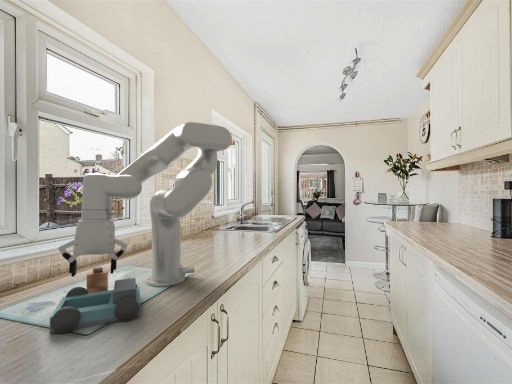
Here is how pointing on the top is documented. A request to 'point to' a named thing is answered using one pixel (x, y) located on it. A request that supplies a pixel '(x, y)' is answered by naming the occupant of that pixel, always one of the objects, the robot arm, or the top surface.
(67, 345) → the top surface
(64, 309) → the chassis
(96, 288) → the orange block with knob
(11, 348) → the top surface
